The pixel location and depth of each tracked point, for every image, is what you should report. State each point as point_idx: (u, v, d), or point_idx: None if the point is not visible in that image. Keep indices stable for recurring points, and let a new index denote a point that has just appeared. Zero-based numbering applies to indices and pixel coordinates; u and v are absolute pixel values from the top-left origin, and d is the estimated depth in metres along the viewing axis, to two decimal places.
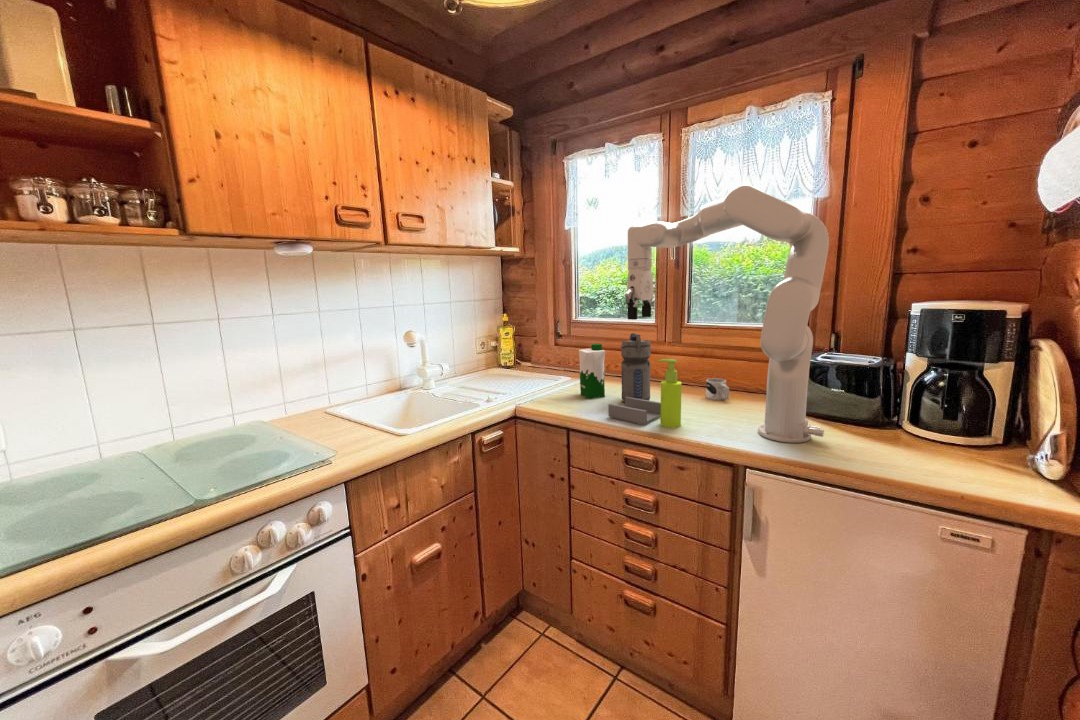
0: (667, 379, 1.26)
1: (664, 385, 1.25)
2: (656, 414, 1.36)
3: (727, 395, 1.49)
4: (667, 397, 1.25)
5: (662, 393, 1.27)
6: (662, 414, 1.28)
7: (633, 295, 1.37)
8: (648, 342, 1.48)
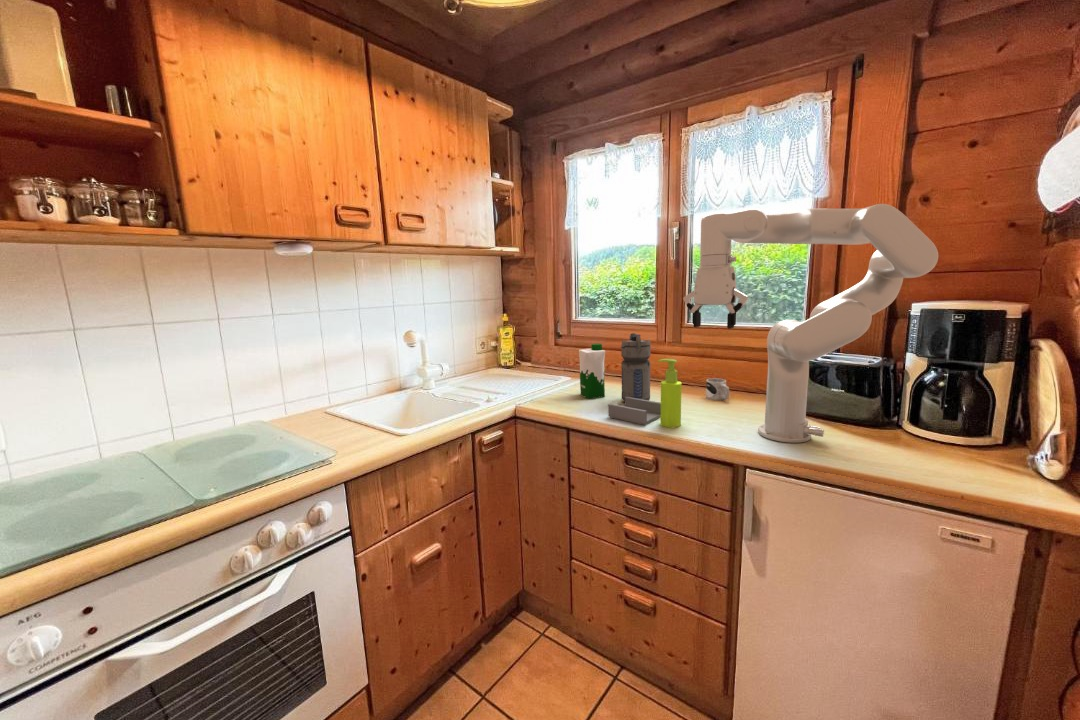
0: (667, 379, 1.26)
1: (664, 385, 1.25)
2: (656, 414, 1.36)
3: (727, 395, 1.49)
4: (667, 397, 1.25)
5: (662, 393, 1.27)
6: (662, 414, 1.28)
7: None
8: (648, 342, 1.48)
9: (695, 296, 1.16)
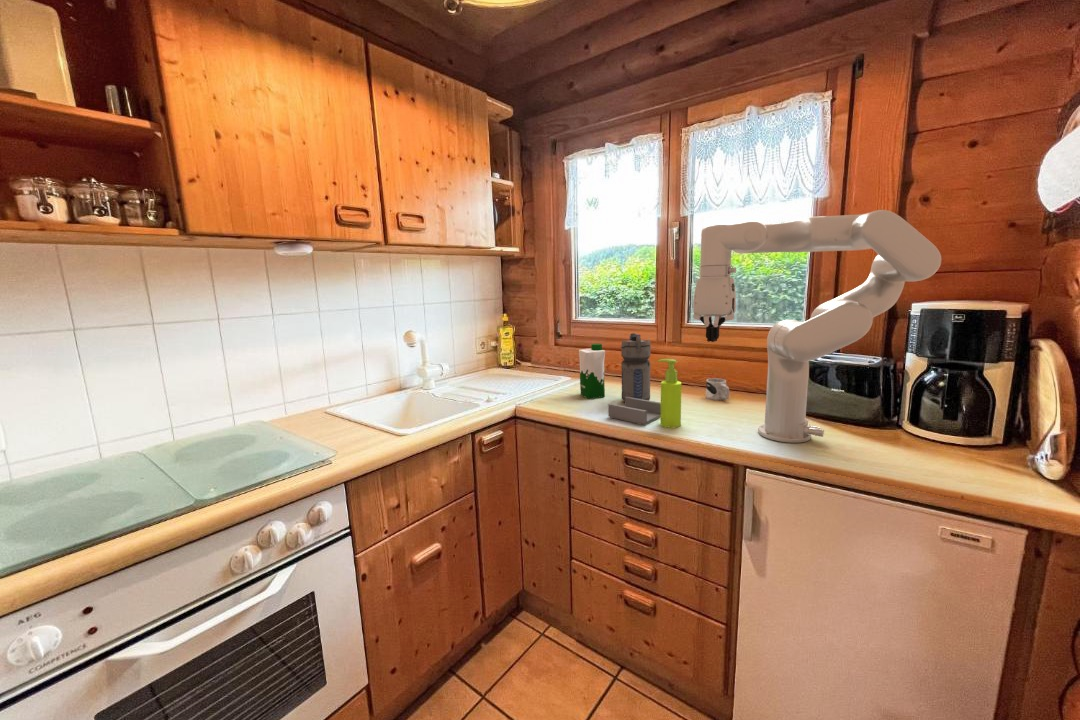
0: (667, 379, 1.26)
1: (664, 385, 1.25)
2: (656, 414, 1.36)
3: (727, 395, 1.49)
4: (667, 397, 1.25)
5: (662, 393, 1.27)
6: (662, 414, 1.28)
7: None
8: (648, 342, 1.48)
9: (694, 306, 1.16)
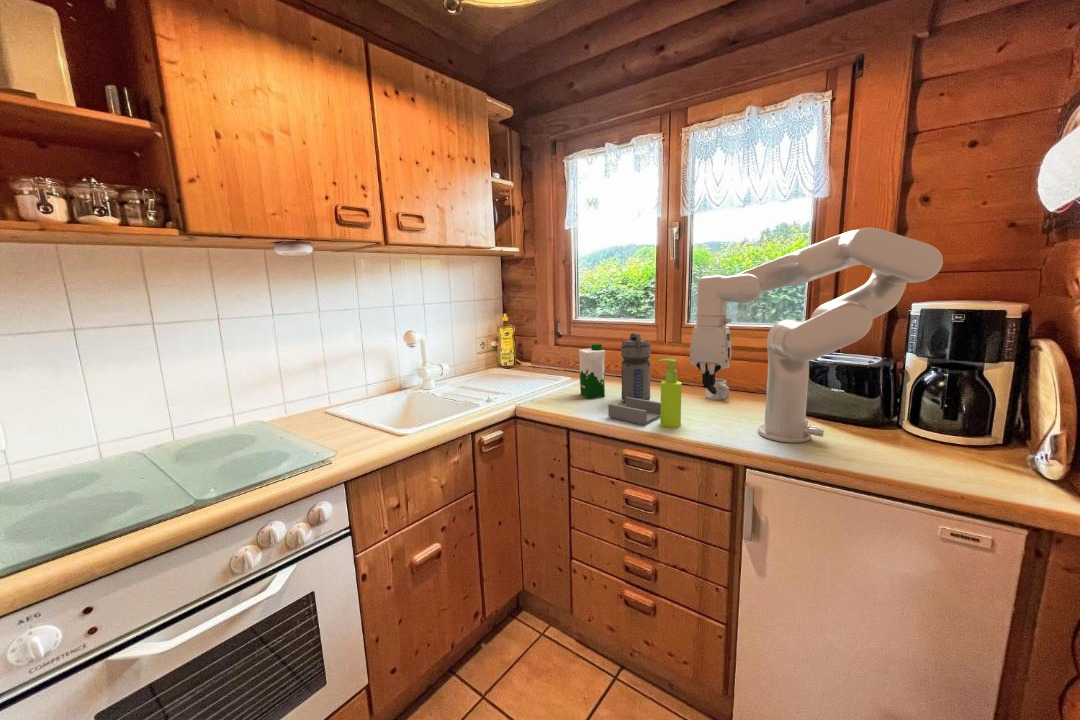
0: (667, 379, 1.26)
1: (664, 385, 1.25)
2: (656, 414, 1.36)
3: (727, 395, 1.49)
4: (667, 397, 1.25)
5: (662, 393, 1.27)
6: (662, 414, 1.28)
7: None
8: (648, 342, 1.48)
9: (691, 353, 1.19)
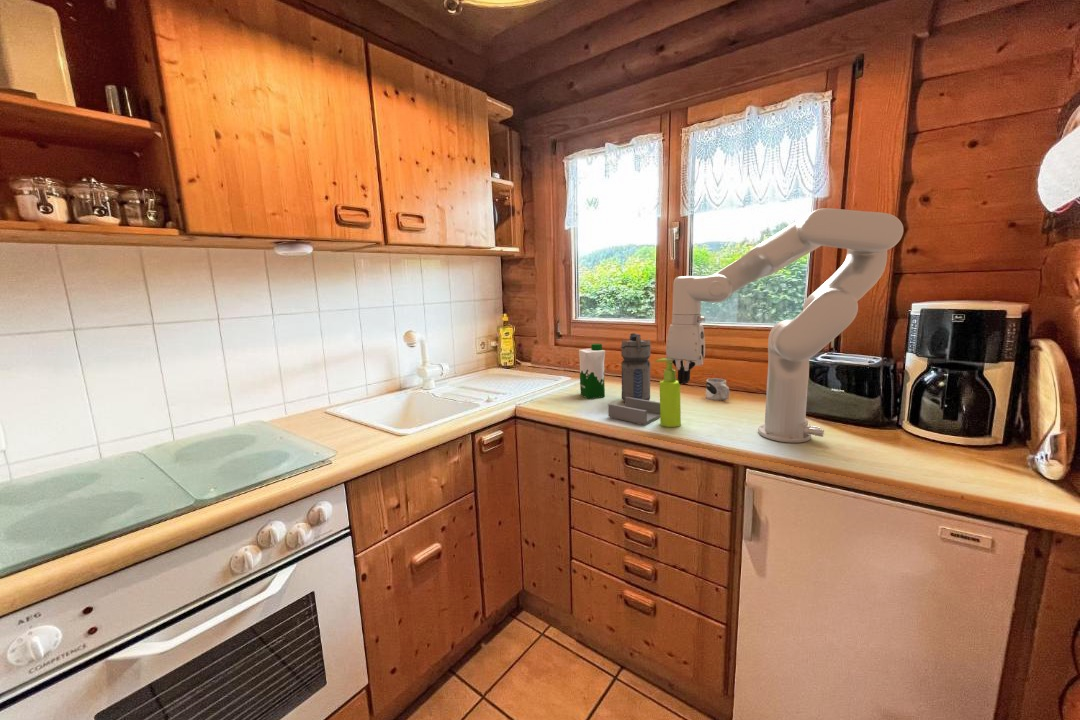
0: (665, 379, 1.26)
1: (663, 385, 1.26)
2: (656, 414, 1.36)
3: (727, 395, 1.49)
4: (666, 397, 1.26)
5: (661, 393, 1.27)
6: (662, 414, 1.28)
7: None
8: (648, 342, 1.48)
9: (667, 350, 1.24)
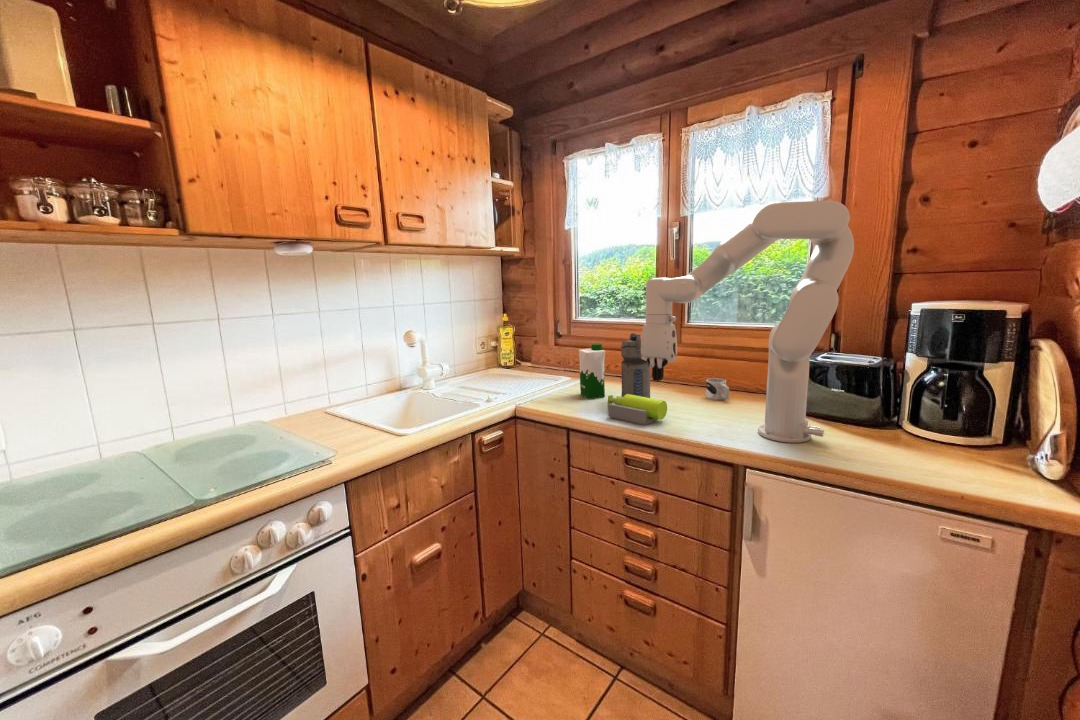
0: (620, 404, 1.39)
1: None
2: None
3: (727, 395, 1.49)
4: (631, 405, 1.35)
5: None
6: (647, 414, 1.31)
7: None
8: None
9: (642, 349, 1.29)
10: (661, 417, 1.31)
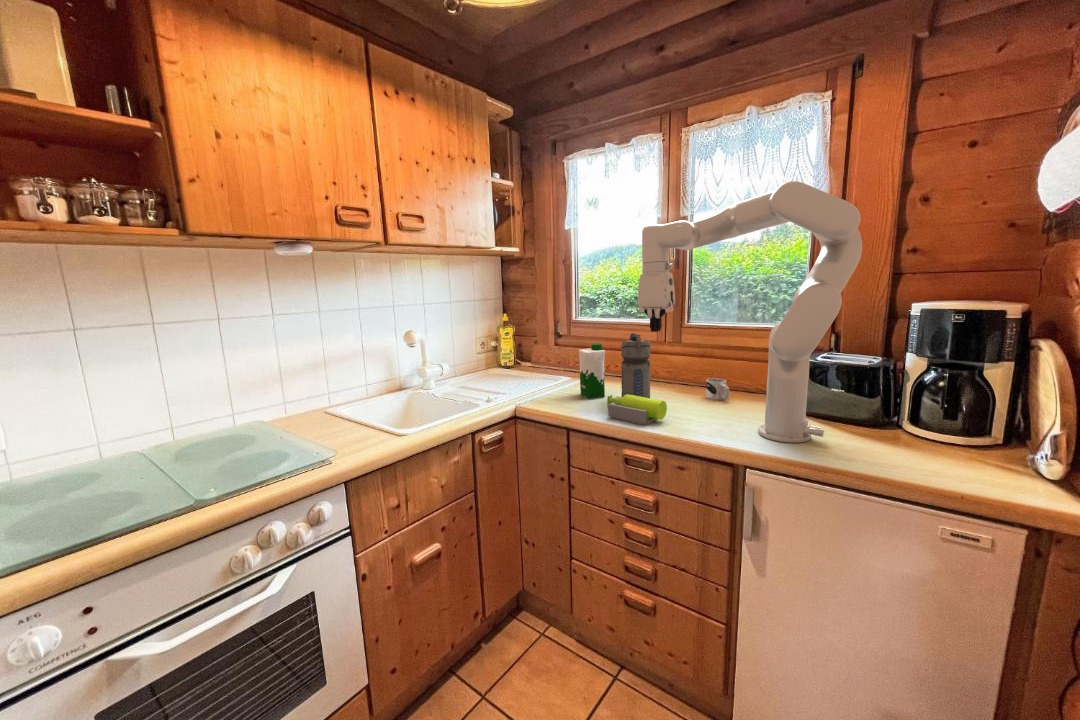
0: (620, 404, 1.39)
1: None
2: None
3: (727, 395, 1.49)
4: (631, 406, 1.35)
5: None
6: (647, 414, 1.31)
7: None
8: (648, 342, 1.48)
9: (639, 299, 1.27)
10: (661, 417, 1.31)
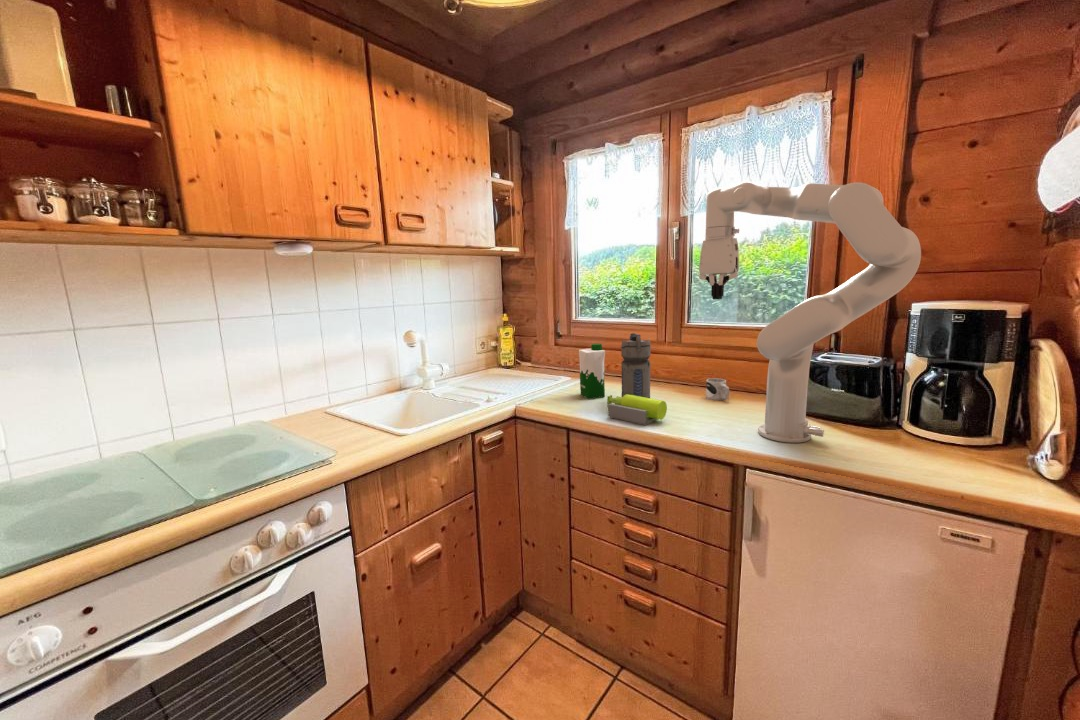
0: (620, 404, 1.39)
1: None
2: None
3: (727, 395, 1.49)
4: (631, 406, 1.35)
5: None
6: (647, 414, 1.31)
7: None
8: (648, 342, 1.48)
9: (700, 266, 1.25)
10: (661, 417, 1.31)
